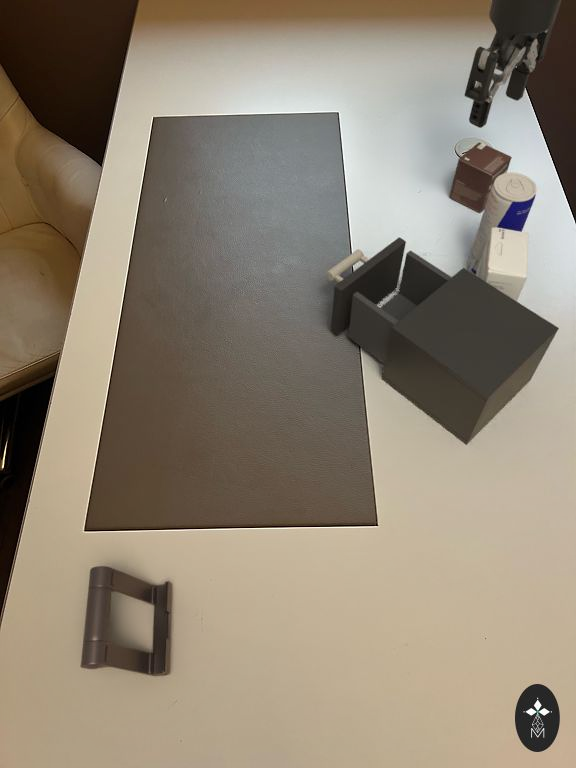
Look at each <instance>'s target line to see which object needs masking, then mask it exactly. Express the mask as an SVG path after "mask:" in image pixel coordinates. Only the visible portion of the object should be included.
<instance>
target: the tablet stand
mask: <svg viewBox="0 0 576 768" xmlns="http://www.w3.org/2000/svg"><path fill="white" fill-rule="evenodd" d="M112 592H115V593H118V594H122V595H124V596H127V597H130V598H133V599H136V600H138V601H141V602H143V603H146V604H149V605H151V606H153V608H154V609H153V626H152V627H153V631H152V651H151V652H147V651H143V650H140V649H136V648H131V647H128V646H124V645H120V644H116V643H113V642H109V629H110V618H111V617H110V616H111V604H112V594H113V593H112ZM172 600H173V584H172V583H171V582H170V581H169V580H168V581H165V582H164V584H159V585H158V584H157V585H156V584H152V583H150V582H147V581H145V580H142V579H141V578H138V577H136V576H132V575H131V574H128V573H126V572H123V571H120V570H118V569H115V568H112V567H111V566H105V565H99V566H93V567H90V569H89V578H88V589H87V598H86V608H85V618H84V628H83V638H82V648H81V658H80V659H81V660H80V668H81V669H85V670H86V669H87V670H97V669H104V668H113V669H118V670H123V671H126V672H127V671H128V672H132V673H138V674H142V675H146V676H151V677H164V676H169V675H170V674H171V645H172V644H171V642H172V640H171V639H172V604H173V602H172Z"/></svg>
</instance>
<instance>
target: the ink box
mask: <svg viewBox="0 0 576 768" xmlns="http://www.w3.org/2000/svg"><path fill="white" fill-rule="evenodd" d="M529 238H530V233H529V232H525V231H522V232H520V231H514V230H508V229H503V228H497V227H492V228H491V231H490V234H489V237H488V240H487V243H486V246H485V249H484V252H483V255H482V258H481V260H480V263H479V266H478V269H477V272H476V276H477V277H479V278H480V279H482V280H484V281H485V282H487V283H488V284H490V285H491V286H493V287H495V288H496V289H498V290H499V291H501V292H503V293H504V294H506V295H507V296H509V297H510V298H512V299H514V300H515V301H517V302H518V299H519V297H520V295H521V292H522V290H523V288H524V285H525V283H526V281H527V278H528V264H529V263H528V262H529V243H530V242H529Z"/></svg>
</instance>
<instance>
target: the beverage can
mask: <svg viewBox="0 0 576 768" xmlns="http://www.w3.org/2000/svg"><path fill="white" fill-rule="evenodd" d="M537 190H538V189H537V185H536V183H535V182H534V181H533V179H531V178H530V177H529V176H527V175H525V174H523V173H519V172H507V173H505V174H502V175H500V176H498V177H497V178H496V179H495V181H494V183H493V185H492V187H491V190H490V194H489V197H488V200H487V203H486V206H485V209H484V210H483V211H482V216H481V219H480V222H479V226H478V228H477V231H476V235H475V238H474V241H473V244H472V247H471V251H470V254H469V257H468V260H467V264H466V267H467V270H468V271H469V272H471V273H473V274H474V275H476V272H477V269H478V266H479V263H480V260H481V258H482V255H483V252H484V249H485V246H486V243H487V240H488V237H489V234H490V231H491V228H492V227H497V228H503V229H508V230H514V231H520V232H523V229H524V227H525V225H526V222H527V220H528V217H529V215H530V212H531V209H532V207H533V204H534V201H535V199H536V196H537Z"/></svg>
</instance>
